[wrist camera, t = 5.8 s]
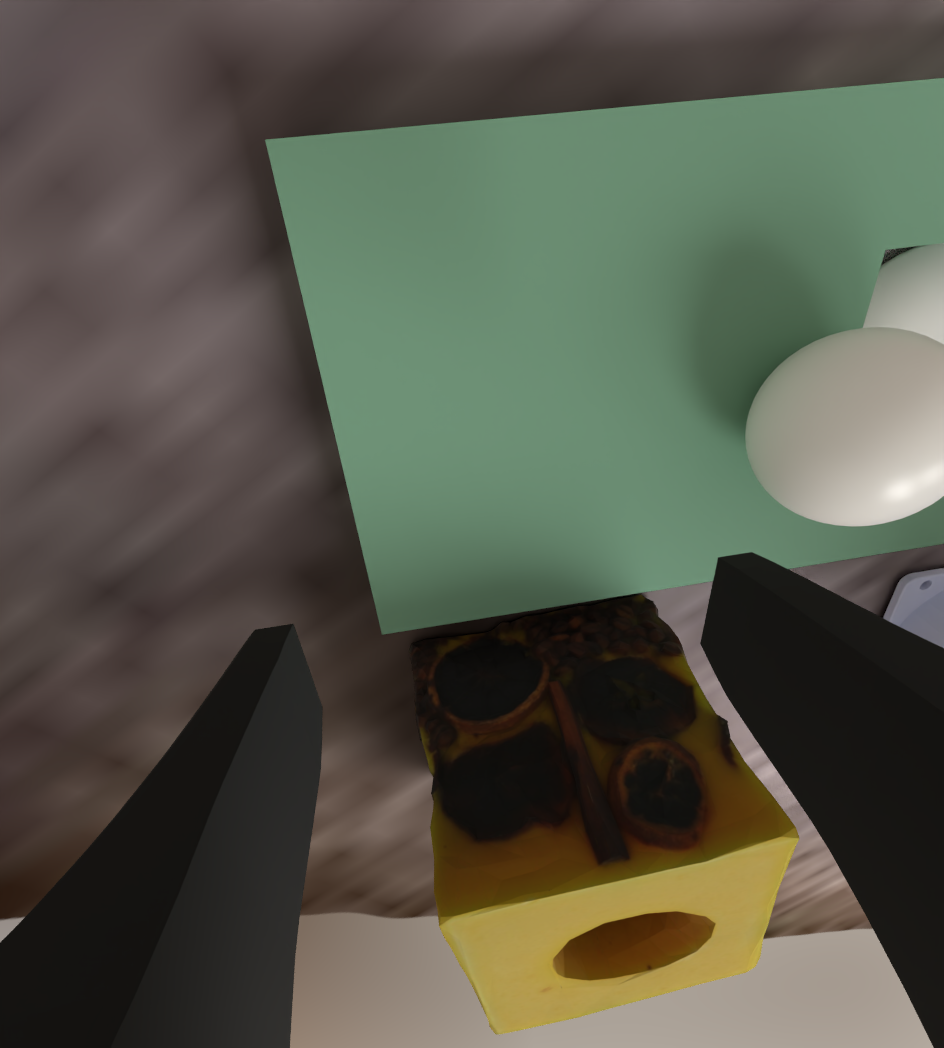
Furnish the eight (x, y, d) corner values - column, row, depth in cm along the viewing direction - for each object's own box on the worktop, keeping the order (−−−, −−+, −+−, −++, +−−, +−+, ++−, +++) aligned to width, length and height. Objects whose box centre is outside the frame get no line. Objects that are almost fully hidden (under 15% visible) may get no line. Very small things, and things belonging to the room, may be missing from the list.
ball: (786, 291, 15) (1011, 315, 13) (735, 448, 18) (912, 484, 16) (770, 352, 12) (1072, 396, 10) (711, 532, 15) (932, 591, 13)
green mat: (1179, 62, 15) (1282, 46, 13) (967, 505, 22) (1015, 532, 21) (280, 145, 13) (265, 139, 11) (381, 597, 20) (382, 634, 19)
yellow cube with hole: (405, 637, 22) (422, 920, 13) (649, 583, 22) (813, 826, 14) (451, 781, 27) (483, 1045, 19) (645, 736, 28) (760, 976, 19)
